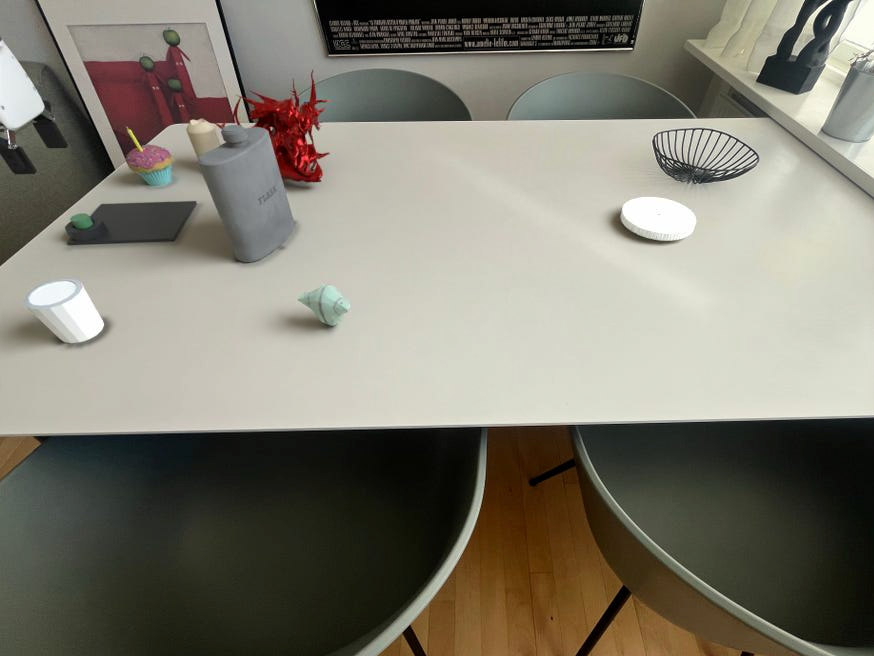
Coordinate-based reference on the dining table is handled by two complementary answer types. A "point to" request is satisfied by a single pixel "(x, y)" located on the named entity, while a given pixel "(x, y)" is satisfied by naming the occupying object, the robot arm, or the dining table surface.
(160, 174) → the cupcake
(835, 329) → the dining table surface
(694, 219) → the plastic lid
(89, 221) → the tare button
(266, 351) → the dining table surface
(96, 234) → the scale
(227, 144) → the flask
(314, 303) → the mint green pointed part
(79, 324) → the shot glass
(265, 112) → the sculptural form
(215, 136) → the candle
